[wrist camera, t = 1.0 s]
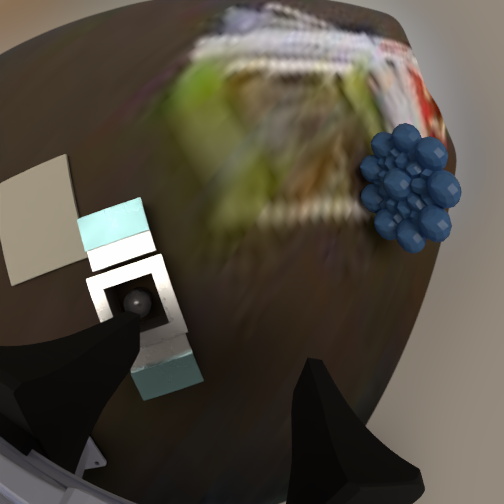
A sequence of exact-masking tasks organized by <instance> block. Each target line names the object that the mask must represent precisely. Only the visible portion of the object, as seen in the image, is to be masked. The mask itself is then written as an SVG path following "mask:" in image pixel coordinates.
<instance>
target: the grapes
mask: <svg viewBox="0 0 504 504" xmlns="http://www.w3.org/2000/svg"><path fill="white" fill-rule="evenodd" d="M371 148H372V151H373V153H374V155H369V156H366V157H365V158H364V159H363V160H362V162H361V164H360V171H361V173H362V176H363V177H364V178H365V179H366V180H367V181H368V182H371V183H373V184H368V185H367V186H366V187H365V188H364V189H363V190H362V193H361V200H362V203H363V205H364V206H365V207H366V208H367V209H368V210H369V211H371V212H374V213H376V215H375V217H374V227H375V229H376V231H377V232H378V233H379V235H380V236H381V237H382V238H385V239H387V240H394V239H396V238H397V241H398V243H399V244H400V246H401V247H402V248H403V249H404V250H405V251H408V252H410V253H419V252H420V251H421V250H422V249H423V248H424V246H425V243H426V240H427V238H428V239H430V240H432V241H434V242H442V241H444V240H445V239H446V238H447V237H448V236H449V234H450V231H451V227H452V225H451V221H450V217H449V214H448V213H447V212H446V211H445V209H444V208H451V207H454V206H455V205H456V204H457V203H458V202H459V200H460V197H461V187H460V184H459V182H458V180H457V179H456V177H455V176H454V175H453V174H452V173H450V172H448V171H445V170H442V169H443V168H444V167H445V166H446V164H447V159H448V153H447V150H446V148H445V146H444V145H443V144H442V143H441V142H440V141H439V140H438V139H436V138H433V137H431V136H430V137H425V138H421V135H420V133H419V131H418V130H417V129H416V128H415V127H414V126H413V125H410V124H407V123H404V124H399V125H398V126H397V127H396V128H395V129H394V130H393V132H392V134H390V133H387V132H380V133H377V134H376V135H375V136H374V137H373V139H372V141H371Z"/></svg>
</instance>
